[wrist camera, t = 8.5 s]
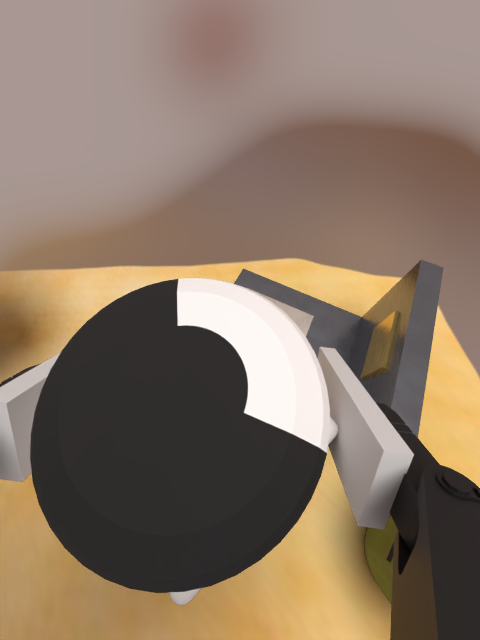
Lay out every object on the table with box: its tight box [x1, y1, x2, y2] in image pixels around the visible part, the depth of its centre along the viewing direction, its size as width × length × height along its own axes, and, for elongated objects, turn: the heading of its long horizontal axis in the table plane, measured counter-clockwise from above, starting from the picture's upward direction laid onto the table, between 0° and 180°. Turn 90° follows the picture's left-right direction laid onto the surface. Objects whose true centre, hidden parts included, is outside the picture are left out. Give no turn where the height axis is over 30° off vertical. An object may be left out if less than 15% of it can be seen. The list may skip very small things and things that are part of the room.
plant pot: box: [365, 515, 398, 604], centre depth 21 cm, size 12×12×11 cm
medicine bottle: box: [30, 278, 338, 605], centre depth 10 cm, size 7×7×12 cm
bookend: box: [234, 260, 443, 438], centre depth 28 cm, size 20×16×15 cm
